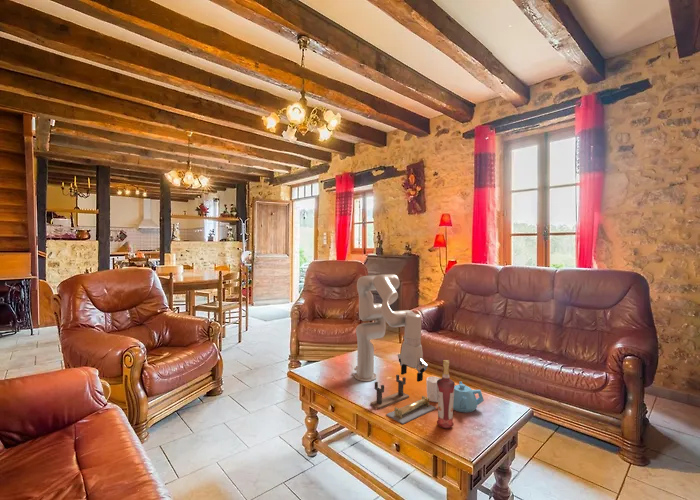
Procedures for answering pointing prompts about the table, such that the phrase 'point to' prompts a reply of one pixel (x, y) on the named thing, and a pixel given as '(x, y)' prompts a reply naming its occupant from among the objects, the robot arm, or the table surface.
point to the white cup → (432, 388)
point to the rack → (392, 398)
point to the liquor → (445, 398)
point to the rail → (411, 407)
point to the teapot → (466, 398)
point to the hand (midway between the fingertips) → (411, 377)
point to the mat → (412, 414)
